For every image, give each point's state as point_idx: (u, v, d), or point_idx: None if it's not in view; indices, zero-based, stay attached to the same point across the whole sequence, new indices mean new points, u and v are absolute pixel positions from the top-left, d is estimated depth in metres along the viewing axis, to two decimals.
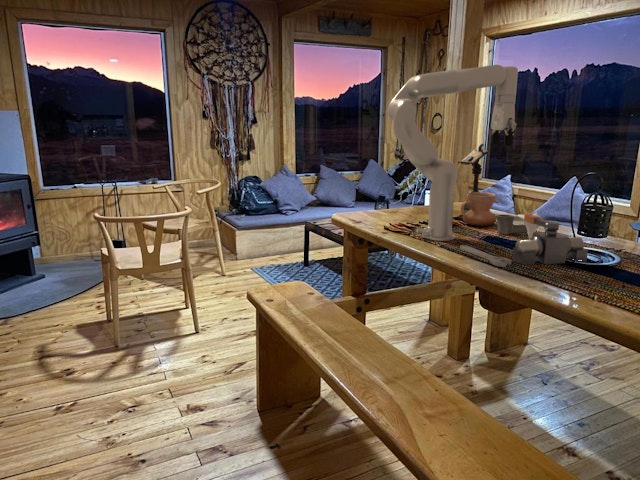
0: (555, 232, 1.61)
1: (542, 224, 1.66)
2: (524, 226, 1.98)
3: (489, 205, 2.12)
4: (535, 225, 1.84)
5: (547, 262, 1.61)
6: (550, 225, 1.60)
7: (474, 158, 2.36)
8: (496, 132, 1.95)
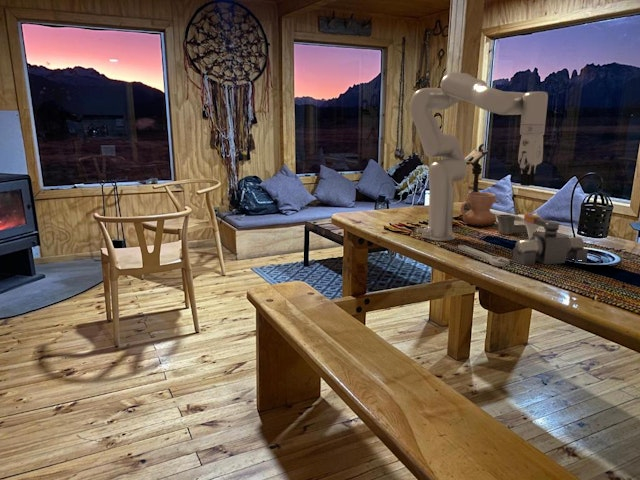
0: (555, 232, 1.61)
1: (542, 224, 1.66)
2: (525, 226, 1.98)
3: (489, 205, 2.12)
4: (535, 225, 1.84)
5: (547, 262, 1.61)
6: (550, 225, 1.60)
7: (474, 158, 2.36)
8: None
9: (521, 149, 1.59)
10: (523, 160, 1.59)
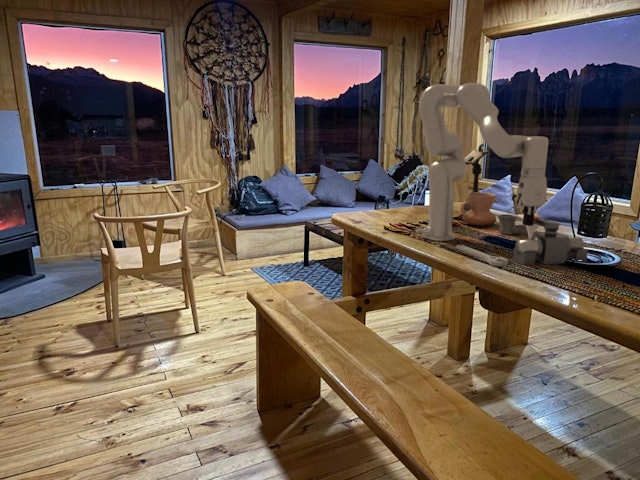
0: (555, 232, 1.61)
1: (542, 224, 1.66)
2: None
3: (489, 205, 2.12)
4: (535, 225, 1.84)
5: (547, 262, 1.61)
6: (550, 225, 1.60)
7: (474, 158, 2.36)
8: None
9: (518, 191, 1.66)
10: (520, 202, 1.66)
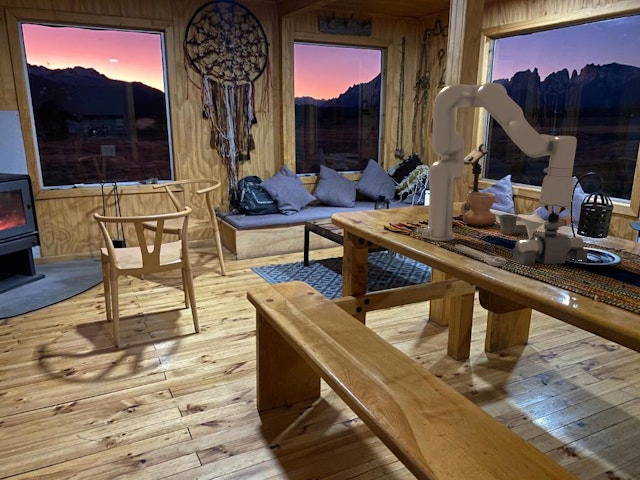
0: (555, 232, 1.61)
1: None
2: None
3: (489, 205, 2.12)
4: (535, 225, 1.84)
5: (547, 262, 1.61)
6: (545, 224, 1.62)
7: (474, 158, 2.36)
8: (552, 209, 1.70)
9: None
10: None
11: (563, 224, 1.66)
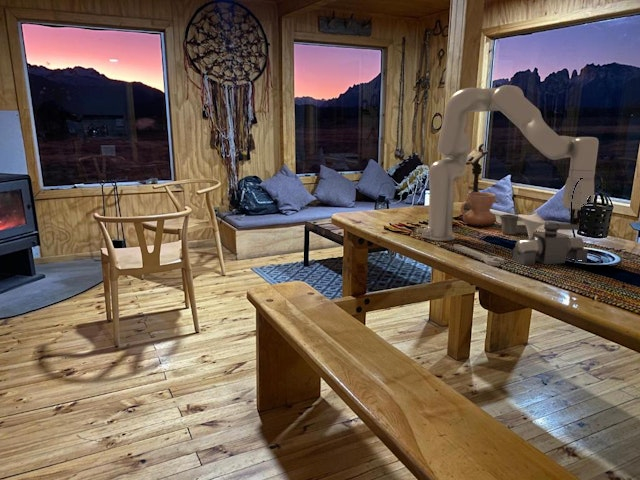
0: (555, 232, 1.61)
1: None
2: None
3: (489, 205, 2.12)
4: (535, 225, 1.84)
5: (547, 262, 1.61)
6: None
7: (474, 158, 2.36)
8: (575, 213, 1.65)
9: None
10: None
11: (574, 228, 1.60)
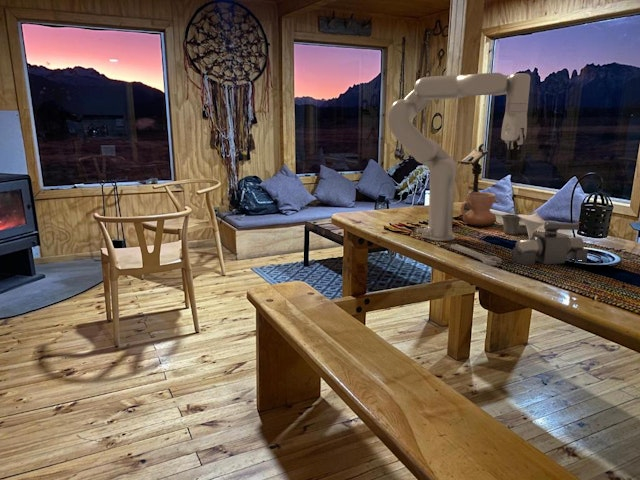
0: (555, 232, 1.61)
1: None
2: None
3: (489, 205, 2.12)
4: (535, 225, 1.84)
5: (547, 262, 1.61)
6: None
7: (474, 158, 2.36)
8: None
9: None
10: None
11: (574, 228, 1.60)
